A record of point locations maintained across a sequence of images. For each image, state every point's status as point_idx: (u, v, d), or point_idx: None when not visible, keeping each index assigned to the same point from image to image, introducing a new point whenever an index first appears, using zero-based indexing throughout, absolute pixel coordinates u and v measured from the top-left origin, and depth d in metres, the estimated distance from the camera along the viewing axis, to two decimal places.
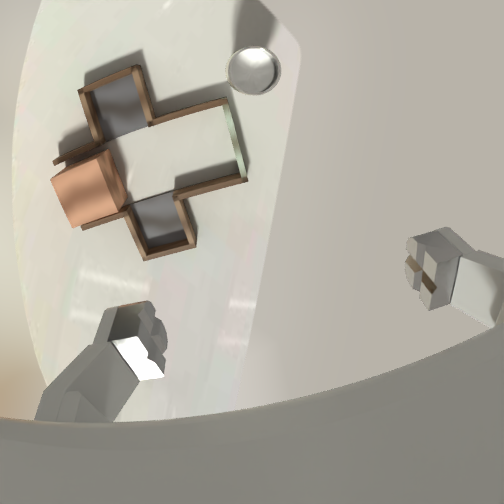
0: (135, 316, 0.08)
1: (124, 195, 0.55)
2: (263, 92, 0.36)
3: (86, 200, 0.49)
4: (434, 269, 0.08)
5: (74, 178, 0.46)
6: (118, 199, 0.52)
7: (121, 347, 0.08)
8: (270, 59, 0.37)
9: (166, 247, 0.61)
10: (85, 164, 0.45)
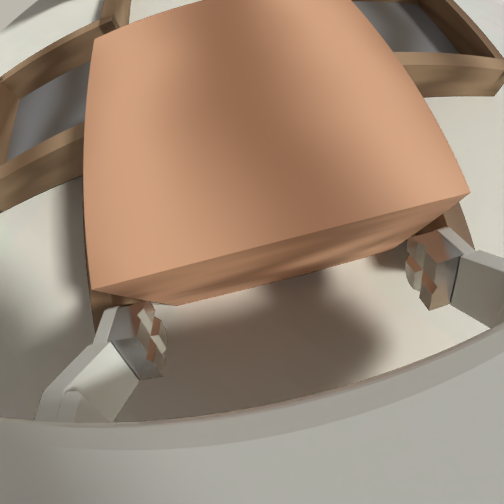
0: (135, 316, 0.08)
1: None
2: None
3: (279, 62, 0.08)
4: (434, 269, 0.08)
5: (132, 115, 0.08)
6: None
7: (121, 347, 0.08)
8: None
9: (456, 28, 0.14)
10: (94, 70, 0.09)
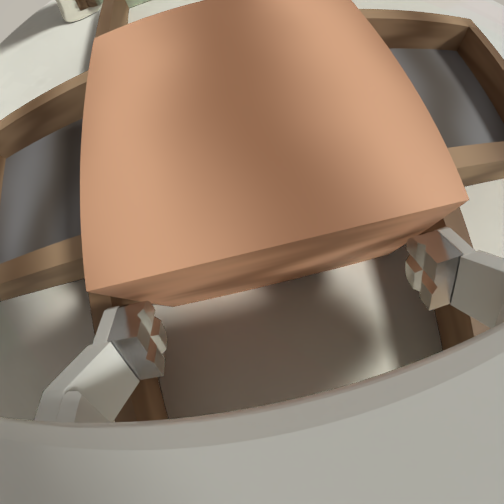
0: (135, 316, 0.08)
1: None
2: None
3: (277, 64, 0.08)
4: (434, 269, 0.08)
5: (129, 116, 0.08)
6: None
7: (121, 347, 0.08)
8: None
9: (501, 90, 0.13)
10: (93, 70, 0.09)
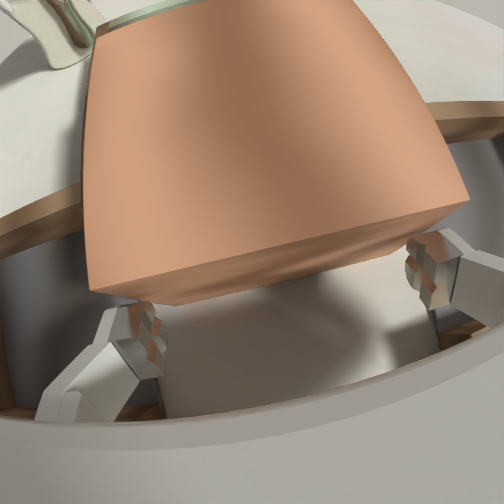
0: (135, 316, 0.08)
1: None
2: None
3: (280, 65, 0.08)
4: (434, 269, 0.08)
5: (132, 116, 0.08)
6: None
7: (121, 347, 0.08)
8: None
9: None
10: (96, 70, 0.09)
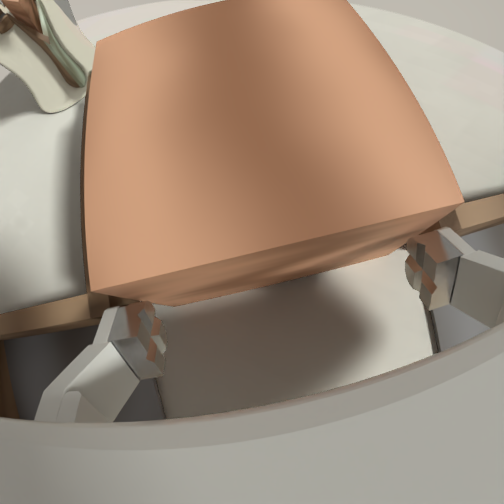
0: (135, 316, 0.08)
1: None
2: None
3: (278, 69, 0.08)
4: (434, 269, 0.08)
5: (132, 120, 0.08)
6: None
7: (121, 347, 0.08)
8: None
9: None
10: (96, 74, 0.09)
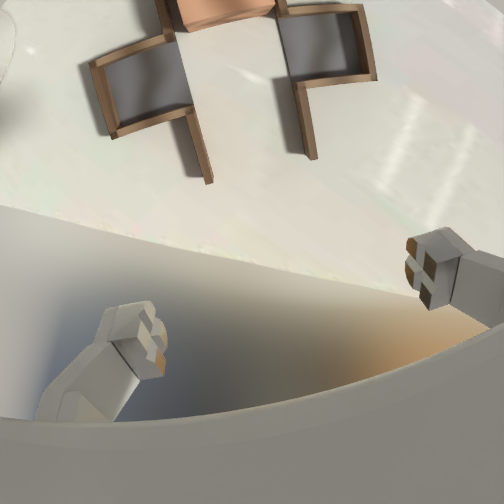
0: (135, 316, 0.08)
1: None
2: None
3: None
4: (434, 269, 0.08)
5: None
6: None
7: (121, 347, 0.08)
8: None
9: (361, 44, 0.33)
10: None
